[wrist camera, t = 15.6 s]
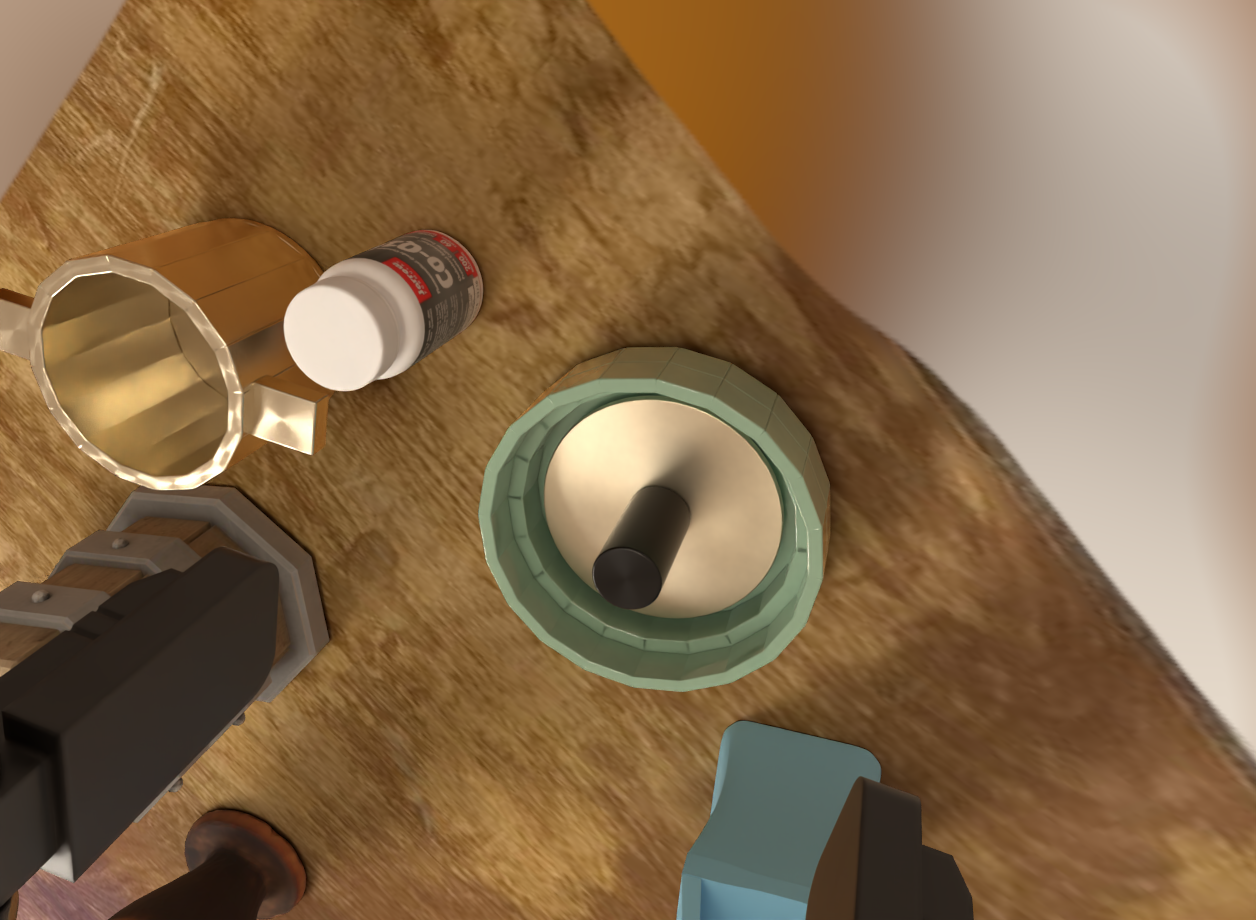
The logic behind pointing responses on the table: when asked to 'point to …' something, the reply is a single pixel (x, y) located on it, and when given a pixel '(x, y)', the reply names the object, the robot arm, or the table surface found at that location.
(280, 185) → the table surface
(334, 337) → the pill bottle
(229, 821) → the vase
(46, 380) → the pot
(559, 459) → the pot lid
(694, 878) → the vase
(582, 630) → the bowl
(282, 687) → the tankard
